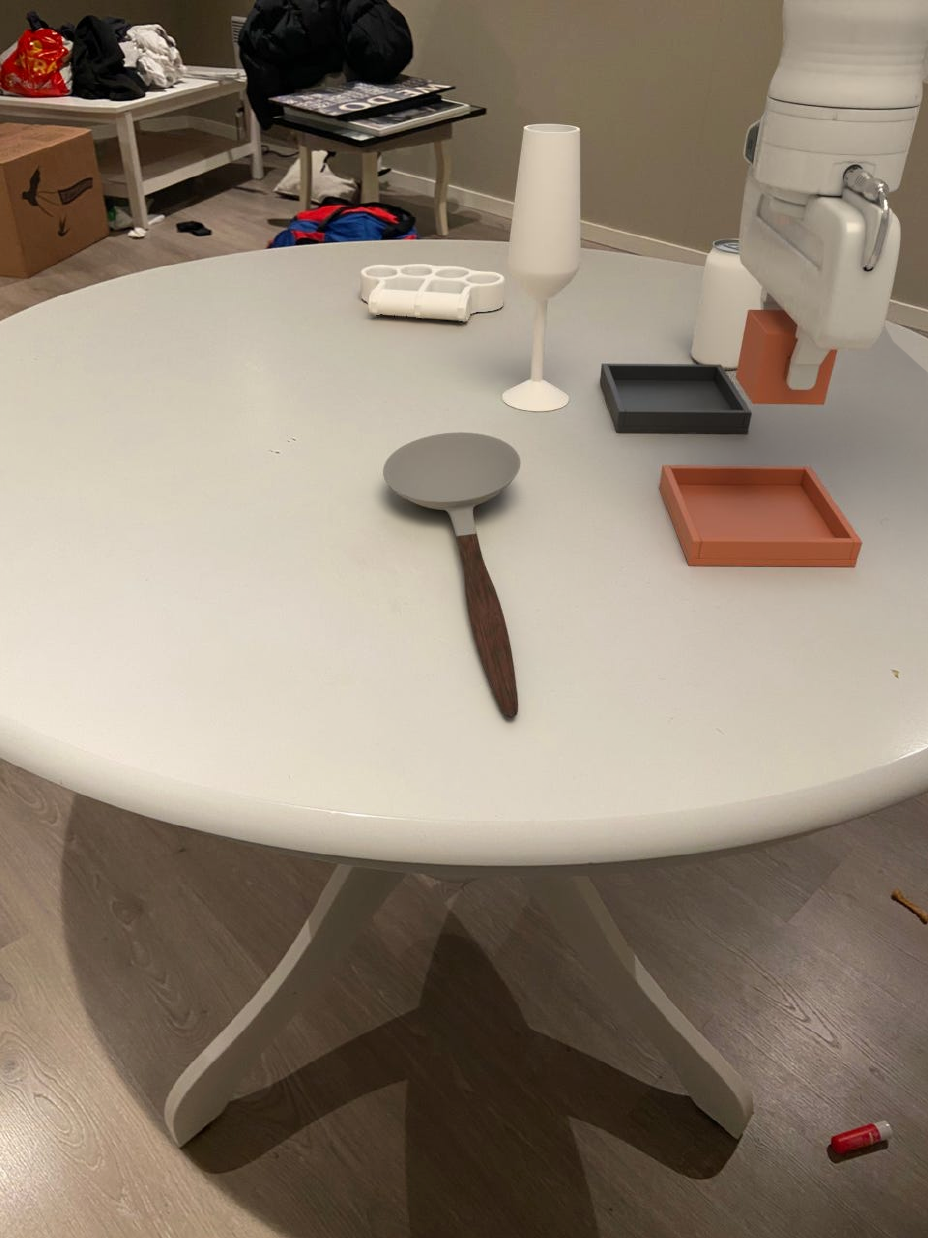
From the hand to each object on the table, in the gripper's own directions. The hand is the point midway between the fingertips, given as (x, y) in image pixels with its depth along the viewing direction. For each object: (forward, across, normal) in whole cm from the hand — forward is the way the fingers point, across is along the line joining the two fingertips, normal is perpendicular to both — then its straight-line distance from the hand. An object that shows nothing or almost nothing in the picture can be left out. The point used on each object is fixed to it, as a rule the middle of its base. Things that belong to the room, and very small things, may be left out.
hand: (783, 368), depth 67 cm
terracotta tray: (+13, 0, 0) cm, 13 cm away
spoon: (+13, -7, +22) cm, 26 cm away
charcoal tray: (+12, +23, +2) cm, 26 cm away
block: (+2, 0, 0) cm, 2 cm away
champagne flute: (+13, +25, +15) cm, 32 cm away
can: (+13, +36, -6) cm, 39 cm away
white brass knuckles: (+13, +54, +26) cm, 61 cm away
